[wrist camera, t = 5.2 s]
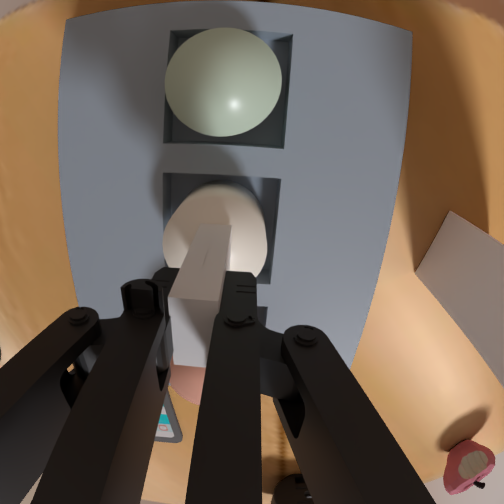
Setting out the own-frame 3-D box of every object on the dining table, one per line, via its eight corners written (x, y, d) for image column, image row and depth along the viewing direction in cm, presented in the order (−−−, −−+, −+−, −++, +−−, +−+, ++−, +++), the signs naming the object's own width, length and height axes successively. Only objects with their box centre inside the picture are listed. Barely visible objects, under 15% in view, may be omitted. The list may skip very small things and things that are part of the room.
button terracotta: (181, 363, 22) (172, 403, 19) (177, 305, 20) (163, 344, 17) (251, 368, 23) (251, 410, 19) (257, 311, 21) (258, 352, 17)
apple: (485, 422, 35) (508, 466, 26) (477, 444, 38) (495, 484, 29) (435, 447, 36) (454, 496, 27) (431, 466, 40) (447, 510, 31)
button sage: (180, 131, 17) (161, 135, 14) (186, 45, 15) (169, 28, 11) (271, 135, 17) (277, 140, 14) (278, 48, 15) (285, 31, 12)
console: (112, 344, 27) (97, 373, 23) (94, 31, 16) (66, 19, 12) (332, 360, 27) (341, 392, 24) (386, 43, 17) (412, 31, 13)
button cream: (179, 258, 20) (164, 290, 17) (179, 178, 18) (160, 194, 15) (260, 264, 21) (262, 297, 17) (267, 182, 18) (272, 200, 15)
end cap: (272, 473, 37) (274, 513, 30) (322, 470, 37) (328, 509, 31) (267, 496, 41) (268, 530, 34) (310, 494, 41) (314, 528, 35)
